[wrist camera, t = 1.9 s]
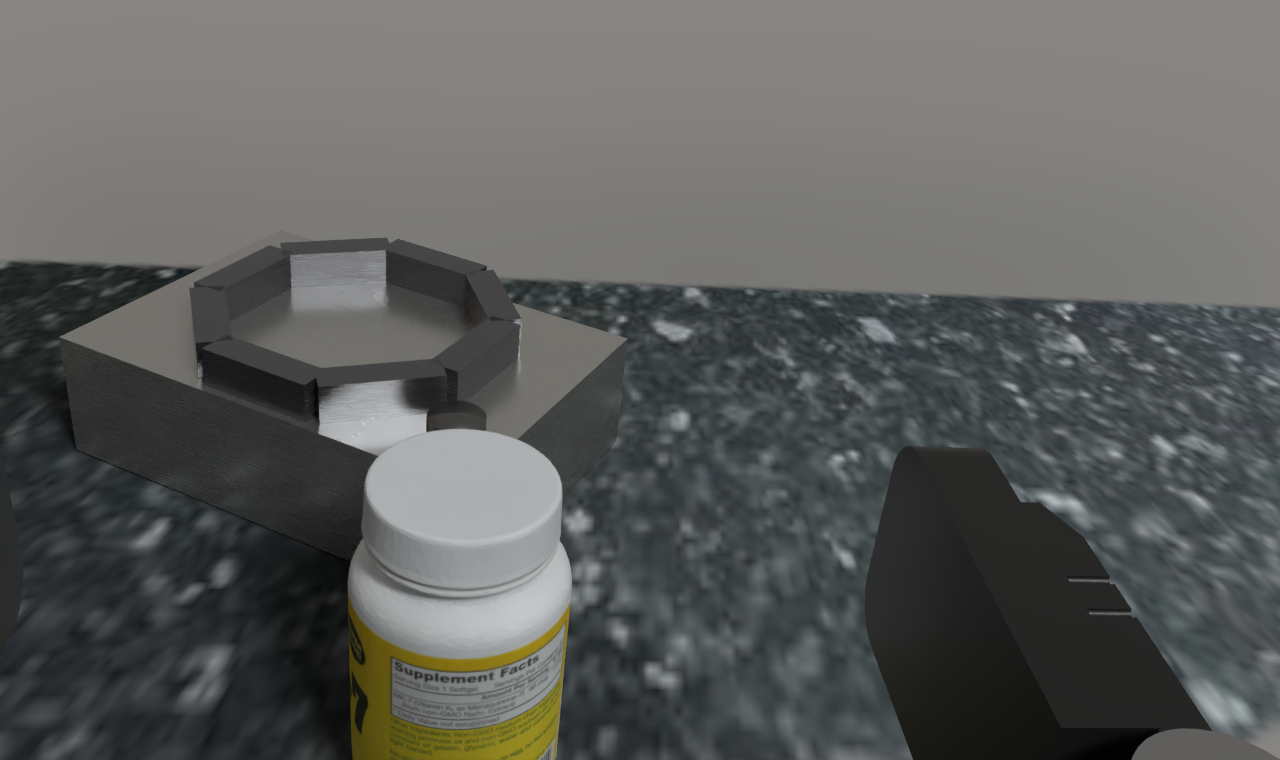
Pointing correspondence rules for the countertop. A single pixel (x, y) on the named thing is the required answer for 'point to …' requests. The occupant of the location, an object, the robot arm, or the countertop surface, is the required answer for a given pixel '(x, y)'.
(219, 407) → the octagon ring base plate
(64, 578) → the countertop surface
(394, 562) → the supplement bottle
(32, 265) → the countertop surface
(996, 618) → the robot arm
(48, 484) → the countertop surface
